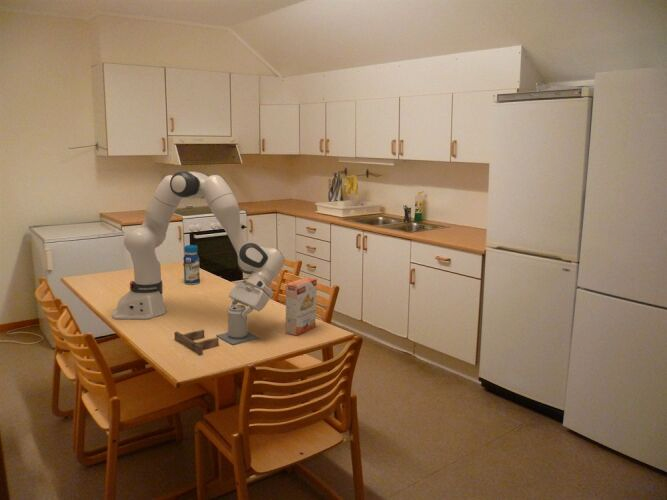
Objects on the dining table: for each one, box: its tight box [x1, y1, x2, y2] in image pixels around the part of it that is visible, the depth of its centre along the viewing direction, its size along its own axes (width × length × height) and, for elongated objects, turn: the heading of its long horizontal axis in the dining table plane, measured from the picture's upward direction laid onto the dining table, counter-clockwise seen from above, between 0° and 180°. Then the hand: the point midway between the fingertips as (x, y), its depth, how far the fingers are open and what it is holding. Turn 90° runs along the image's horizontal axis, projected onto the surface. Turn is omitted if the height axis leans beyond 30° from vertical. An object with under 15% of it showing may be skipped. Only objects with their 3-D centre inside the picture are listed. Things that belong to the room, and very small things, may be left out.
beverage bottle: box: [182, 244, 201, 286], centre depth 299 cm, size 8×8×20 cm
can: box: [227, 304, 248, 339], centre depth 222 cm, size 8×8×12 cm
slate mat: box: [215, 330, 260, 346], centre depth 223 cm, size 12×12×1 cm
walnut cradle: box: [174, 329, 220, 356], centre depth 215 cm, size 10×20×3 cm, turn 41°
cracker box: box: [285, 276, 318, 336], centre depth 231 cm, size 14×6×21 cm, turn 148°
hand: (236, 313), depth 220 cm, fingers closed on can, 7 cm apart
